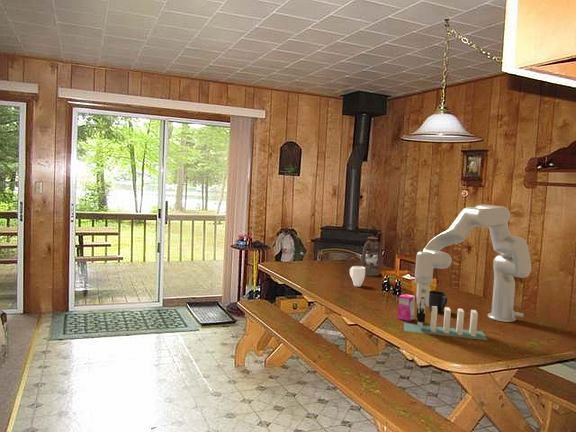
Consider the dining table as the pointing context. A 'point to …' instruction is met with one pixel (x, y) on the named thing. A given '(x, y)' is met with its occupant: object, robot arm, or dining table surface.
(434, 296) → the mug
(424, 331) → the runner mat
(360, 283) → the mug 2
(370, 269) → the lantern
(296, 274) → the dining table surface
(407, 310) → the supplement box
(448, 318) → the domino
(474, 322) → the domino
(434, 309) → the domino
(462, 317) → the domino
